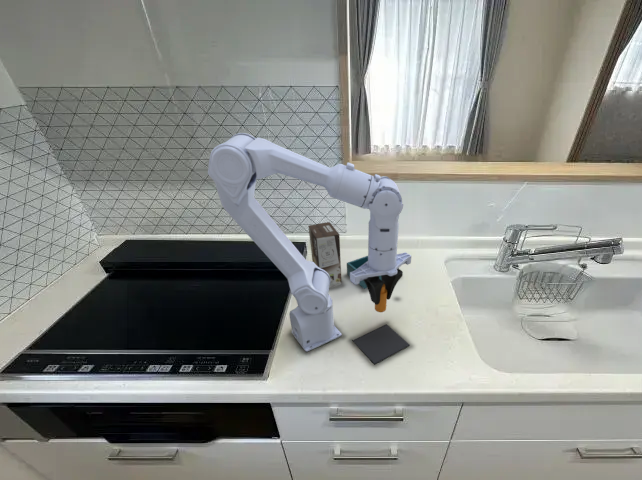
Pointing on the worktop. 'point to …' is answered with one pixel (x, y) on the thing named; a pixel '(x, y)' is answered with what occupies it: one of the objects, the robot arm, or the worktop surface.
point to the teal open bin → (355, 265)
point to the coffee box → (326, 250)
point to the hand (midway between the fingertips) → (380, 299)
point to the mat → (380, 343)
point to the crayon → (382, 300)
